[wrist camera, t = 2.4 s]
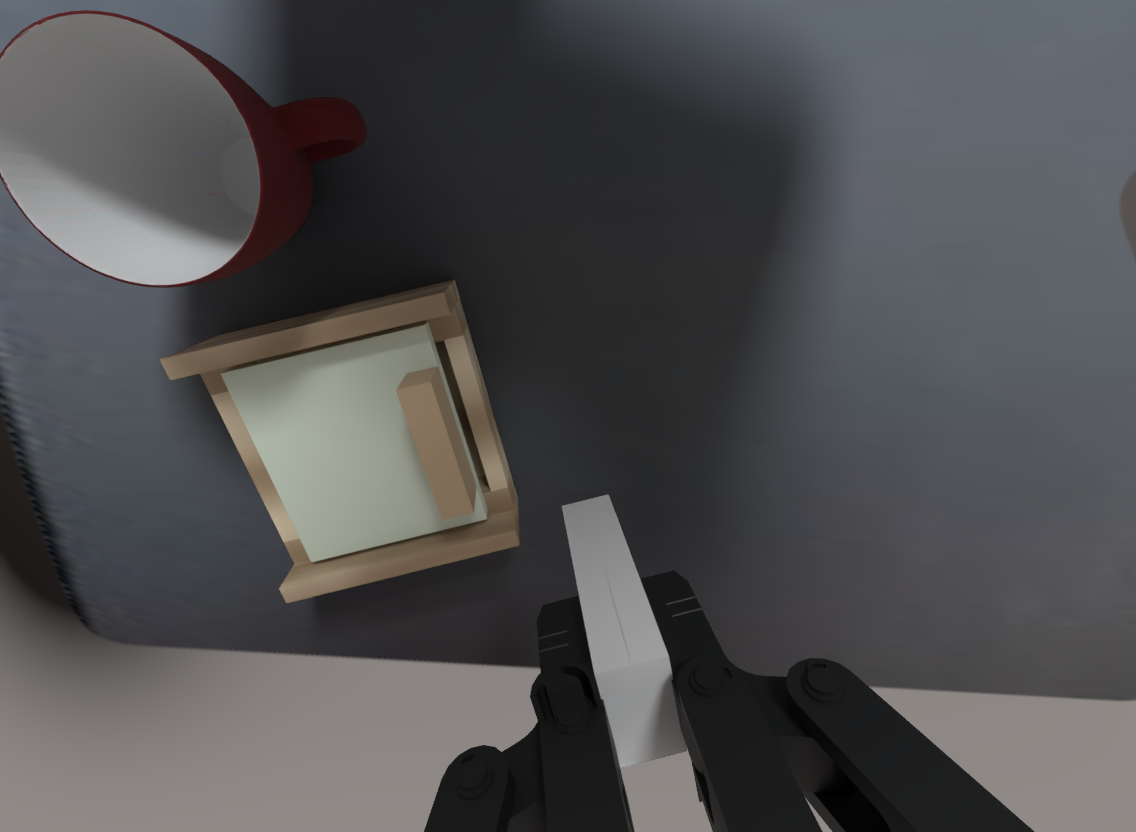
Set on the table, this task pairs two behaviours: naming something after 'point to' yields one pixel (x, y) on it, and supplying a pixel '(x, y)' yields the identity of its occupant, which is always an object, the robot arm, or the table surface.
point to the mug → (155, 151)
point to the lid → (361, 440)
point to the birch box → (469, 401)
